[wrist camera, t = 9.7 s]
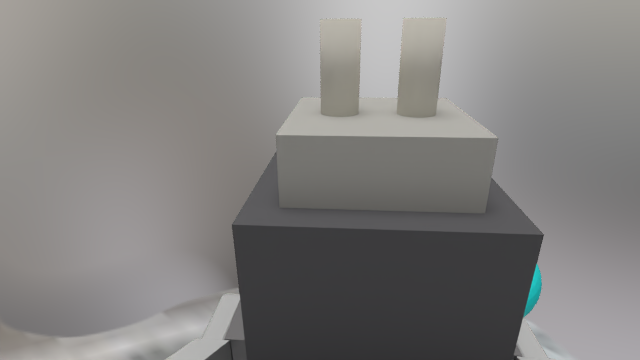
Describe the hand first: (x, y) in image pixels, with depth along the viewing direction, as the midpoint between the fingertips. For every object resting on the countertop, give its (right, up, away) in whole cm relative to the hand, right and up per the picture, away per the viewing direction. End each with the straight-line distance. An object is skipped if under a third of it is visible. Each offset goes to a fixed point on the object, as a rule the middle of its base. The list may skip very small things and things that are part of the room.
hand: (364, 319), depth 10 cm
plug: (0, -5, +1) cm, 6 cm away
